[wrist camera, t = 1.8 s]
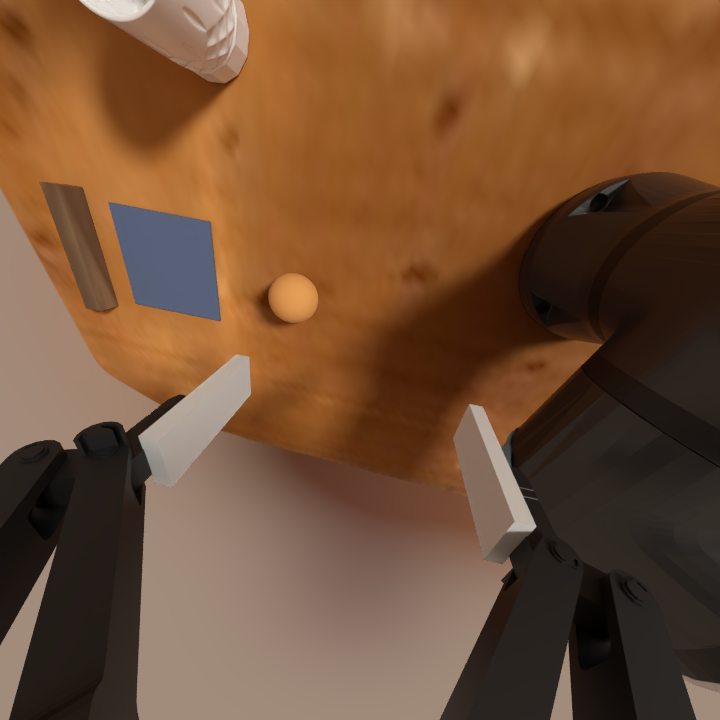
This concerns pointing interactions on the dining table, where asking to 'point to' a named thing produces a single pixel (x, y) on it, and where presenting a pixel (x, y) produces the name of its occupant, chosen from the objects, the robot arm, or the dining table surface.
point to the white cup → (185, 31)
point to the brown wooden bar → (80, 244)
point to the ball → (293, 298)
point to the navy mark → (168, 260)
